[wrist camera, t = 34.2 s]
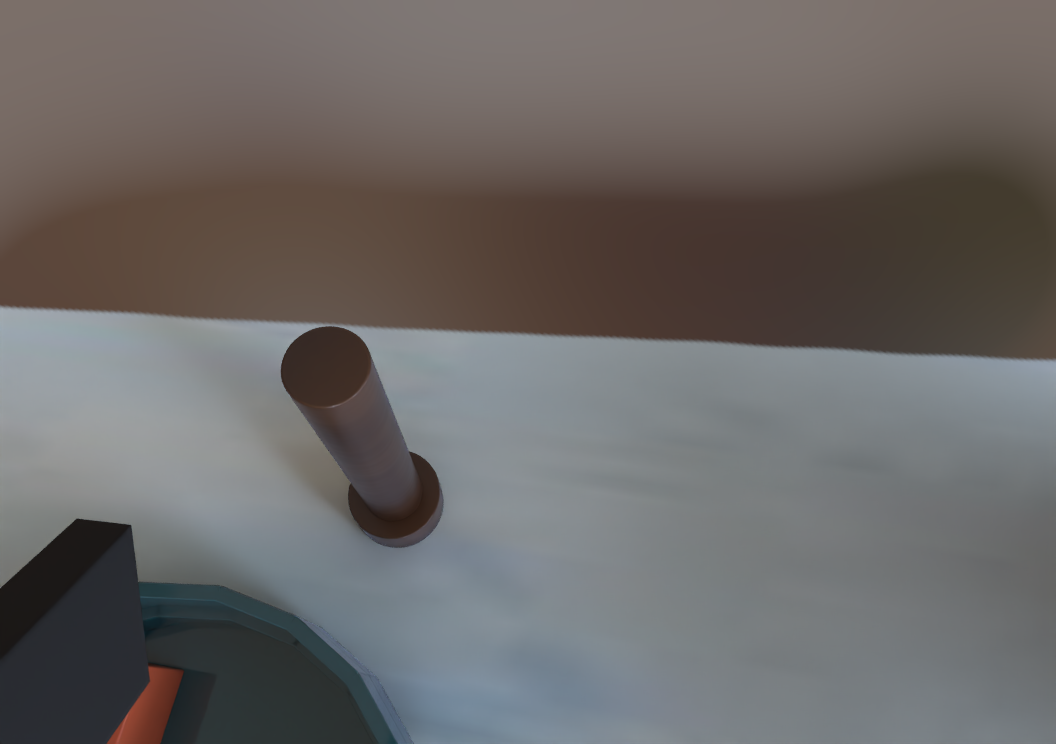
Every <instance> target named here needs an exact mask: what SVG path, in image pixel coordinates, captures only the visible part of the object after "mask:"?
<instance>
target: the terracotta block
mask: <svg viewBox="0 0 1056 744" xmlns="http://www.w3.org/2000/svg"><path fill="white" fill-rule="evenodd" d="M148 668H149V676H150V682H149V684H148V685H147V687H146V688H145V689H144V691H143V692H142V694H141V695H140V697H139V698H138V699H137V701H136V702H135V704H134V705H133V707H132V708H131V709H130V711H129V712H128V714H127V715H126V717H125V718H124V719H123V721H122V722H121V724H120V725H119V727H118V728H117V729H116V731H115V732H114V734H113V735H112V737H111V738H110V739H109V741H108V742H107V744H160V743H161V740H162V737H163V734H164V731H165V728H166V725H167V722H168V719H169V716H170V713H171V710H172V707H173V703H174V700H175V697H176V694H177V691H178V688H179V685H180V682H181V679H182V676H183V673H184V671H183V670H181V669H176V668H171V667H166V666H161V665H156V664H151V663H148Z"/></svg>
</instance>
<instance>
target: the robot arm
mask: <svg viewBox="0 0 1056 744" xmlns="http://www.w3.org/2000/svg"><path fill="white" fill-rule="evenodd" d="M149 682H150V676H149V668H148V660H147V651H146V643H145V635H144V627H143V618H142V610H141V602H140V593H139V585H138V577H137V569H136V560H135V552H134V544H133V536H132V527H131V525H127V524H119V523H110V522H101V521H93V520H84V519H76V520H75V521H74V522H73V523H72V524H70V525H69V526H68V527H67V528H66V529H65V530H64V531H63V532H62V533H61V534H59V535H58V536H57V537H56V538H55V539H54V540H53V541H52V542H51V543H50V544H48V545H47V546H46V547H45V548H44V549H43V550H42V551H41V552H40V553H39V554H37V555H36V556H35V557H34V558H33V559H32V560H31V561H30V562H29V563H28V564H26V565H25V566H24V567H23V568H22V569H21V570H20V571H19V572H18V573H17V574H15V575H14V576H13V577H12V578H11V579H10V580H9V581H8V582H7V583H6V584H5V585H3V586H2V587H1V588H0V744H107V742H108V741H109V739H110V738H111V737H112V735H113V734H114V732H115V731H116V729H117V728H118V727H119V725H120V724H121V722H122V721H123V719H124V718H125V717H126V715H127V714H128V712H129V711H130V709H131V708H132V707H133V705H134V704H135V702H136V701H137V699H138V698H139V697H140V695H141V694H142V692H143V691H144V689H145V688H146V687H147V685H148V684H149Z"/></svg>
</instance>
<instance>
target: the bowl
mask: <svg viewBox="0 0 1056 744" xmlns="http://www.w3.org/2000/svg"><path fill="white" fill-rule="evenodd" d="M138 585H139V593H140V602H141V610H142V618H143V627H144V635H145V643H146V651H147V660H148V663H151V664H156V665H161V666H166V667H171V668H176V669H181V670H183V671H184V673H183V676H182V679H181V682H180V685H179V688H178V691H177V694H176V697H175V700H174V703H173V707H172V710H171V713H170V716H169V719H168V722H167V725H166V728H165V731H164V734H163V737H162V740H161V743H160V744H414V743H413V741H412V739H411V737H410V735H409V734H408V732H407V730H406V728H405V726H404V725H403V723H402V721H401V719H400V717H399V716H398V714H397V712H396V710H395V708H394V707H393V705H392V703H391V701H390V699H389V697H388V696H387V694H386V692H385V690H384V688H383V687H382V685H381V683H380V681H379V679H378V678H377V677H376V676H375V675H374V674H373V673H372V672H371V671H370V670H369V669H368V668H366V667H365V666H364V665H363V664H362V663H361V662H360V661H359V660H358V659H356V658H355V657H354V656H353V655H352V654H351V653H350V652H349V651H348V650H346V649H345V648H344V647H343V646H342V645H341V644H340V643H339V642H338V641H336V640H335V639H334V638H333V637H332V636H331V635H330V634H329V633H328V632H326V631H325V630H324V629H323V628H321V627H320V626H318V625H316V624H313V623H311V622H309V621H307V620H304V619H302V618H300V617H298V616H296V615H293V614H291V613H288V612H286V611H283V610H281V609H278V608H276V607H273V606H271V605H268V604H266V603H263V602H261V601H258V600H256V599H253V598H251V597H249V596H246V595H244V594H241V593H239V592H236V591H234V590H231V589H229V588H226V587H224V586H220V585H201V584H179V583H157V582H138Z"/></svg>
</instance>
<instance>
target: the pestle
mask: <svg viewBox="0 0 1056 744" xmlns="http://www.w3.org/2000/svg"><path fill="white" fill-rule="evenodd" d="M281 379H282V383H283V385H284V387H285V389H286V391H287V393H288V394H289V395H290V397H291V398H292V400H293V401H294V403H295V404H296V405H297V407H298V408H299V410H300V411H301V413H302V414H303V415H304V417H305V418H306V420H307V421H308V422H309V424H310V425H311V427H312V428H313V430H314V431H315V432H316V434H317V435H318V437H319V438H320V440H321V441H322V442H323V444H324V445H325V447H326V448H327V450H328V451H329V452H330V454H331V455H332V457H333V458H334V460H335V461H336V462H337V464H338V465H339V467H340V468H341V470H342V471H343V472H344V474H345V475H346V477H347V478H348V480H349V481H350V482H351V484H350V487H349V494H348V500H349V507H350V511H351V513H352V515H353V517H354V519H355V521H356V522H357V523H358V525H359V526H360V527H361V528H362V530H363V531H364V532H365V533H366V534H367V535H368V536H369V537H370V538H371V539H372V540H374V541H375V542H377V543H379V544H381V545H384V546H388V547H395V548H398V547H407V546H411V545H414V544H416V543H418V542H420V541H422V540H423V539H425V538H426V537H427V536H428V535H429V534H430V533H431V532H432V531H433V530H434V529H435V527H436V526H437V524H438V522H439V520H440V518H441V515H442V511H443V494H442V490H441V487H440V484H439V480H438V477H437V475H436V473H435V471H434V469H433V468H432V467H431V465H430V464H429V463H428V462H427V461H426V460H425V459H423V458H422V457H421V456H419V455H417V454H415V453H412V452H409V451H408V448H407V446H406V443H405V441H404V438H403V436H402V433H401V431H400V428H399V426H398V423H397V421H396V418H395V416H394V413H393V410H392V408H391V405H390V403H389V400H388V398H387V395H386V393H385V390H384V388H383V385H382V383H381V380H380V378H379V375H378V373H377V370H376V368H375V365H374V362H373V360H372V357H371V355H370V352H369V350H368V348H367V346H366V344H365V343H364V342H363V340H362V339H361V338H360V337H359V336H357V335H356V334H354V333H353V332H351V331H349V330H346V329H344V328H339V327H332V326H328V327H319V328H315V329H312V330H310V331H308V332H306V333H304V334H302V335H301V336H299V337H298V338H297V339H296V340H295V341H294V342H293V343H292V344H291V345H290V346H289V348H288V349H287V351H286V353H285V355H284V357H283V360H282V364H281Z"/></svg>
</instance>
